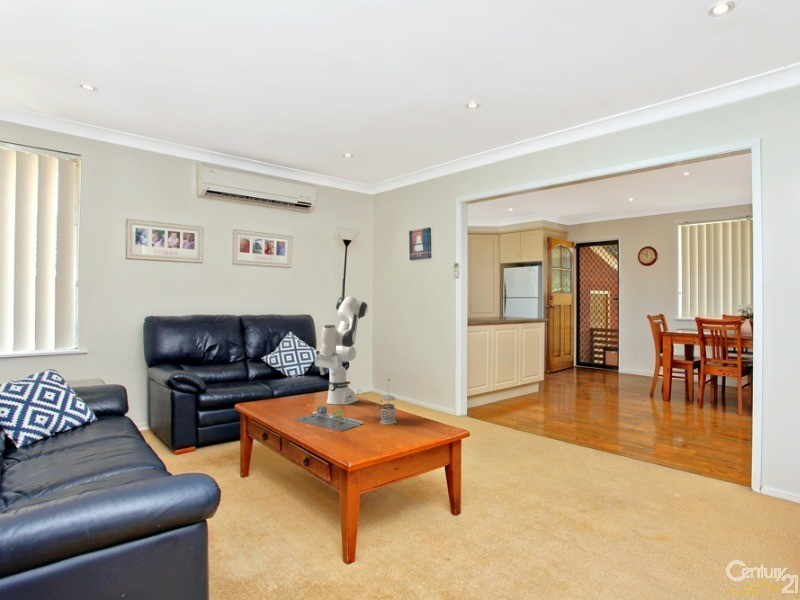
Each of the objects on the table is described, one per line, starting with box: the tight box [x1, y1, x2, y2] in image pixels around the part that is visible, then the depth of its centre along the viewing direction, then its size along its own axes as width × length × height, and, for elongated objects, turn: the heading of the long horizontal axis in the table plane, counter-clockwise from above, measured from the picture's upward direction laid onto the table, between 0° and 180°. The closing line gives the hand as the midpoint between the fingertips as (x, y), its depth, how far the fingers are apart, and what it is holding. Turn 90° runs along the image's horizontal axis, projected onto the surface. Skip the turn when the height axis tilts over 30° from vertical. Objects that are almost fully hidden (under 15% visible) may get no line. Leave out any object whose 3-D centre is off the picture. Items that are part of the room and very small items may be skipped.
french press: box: [376, 377, 397, 425], centre depth 262 cm, size 10×12×25 cm
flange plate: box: [295, 413, 360, 433], centre depth 259 cm, size 14×36×1 cm, turn 53°
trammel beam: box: [312, 405, 364, 426], centre depth 265 cm, size 9×34×5 cm, turn 53°
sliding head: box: [330, 408, 345, 418], centre depth 265 cm, size 9×4×4 cm, turn 143°
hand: (328, 375), depth 274 cm, fingers open, 8 cm apart
